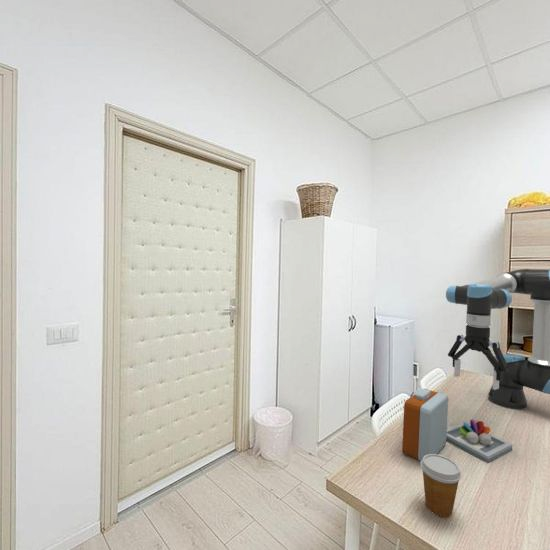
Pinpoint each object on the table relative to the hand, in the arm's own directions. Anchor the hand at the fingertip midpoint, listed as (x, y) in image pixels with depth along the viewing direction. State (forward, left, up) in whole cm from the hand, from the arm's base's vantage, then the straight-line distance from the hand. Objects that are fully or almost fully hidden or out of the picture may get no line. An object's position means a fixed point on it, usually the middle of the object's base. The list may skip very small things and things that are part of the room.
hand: (475, 382), depth 115 cm
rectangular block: (+22, -4, -22) cm, 31 cm away
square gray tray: (+2, +2, -22) cm, 22 cm away
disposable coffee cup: (+43, +15, -22) cm, 51 cm away
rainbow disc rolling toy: (+2, +2, -21) cm, 21 cm away
